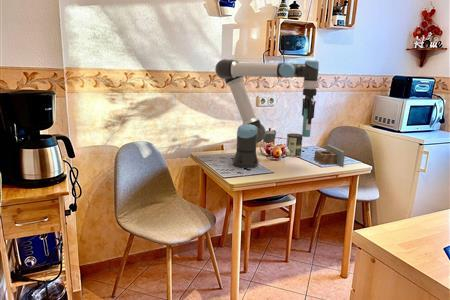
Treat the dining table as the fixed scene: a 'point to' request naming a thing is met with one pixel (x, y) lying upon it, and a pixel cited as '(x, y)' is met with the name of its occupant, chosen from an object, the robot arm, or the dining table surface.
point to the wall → (339, 154)
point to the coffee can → (294, 144)
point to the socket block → (325, 157)
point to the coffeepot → (269, 136)
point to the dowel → (305, 132)
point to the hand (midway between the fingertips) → (306, 129)
